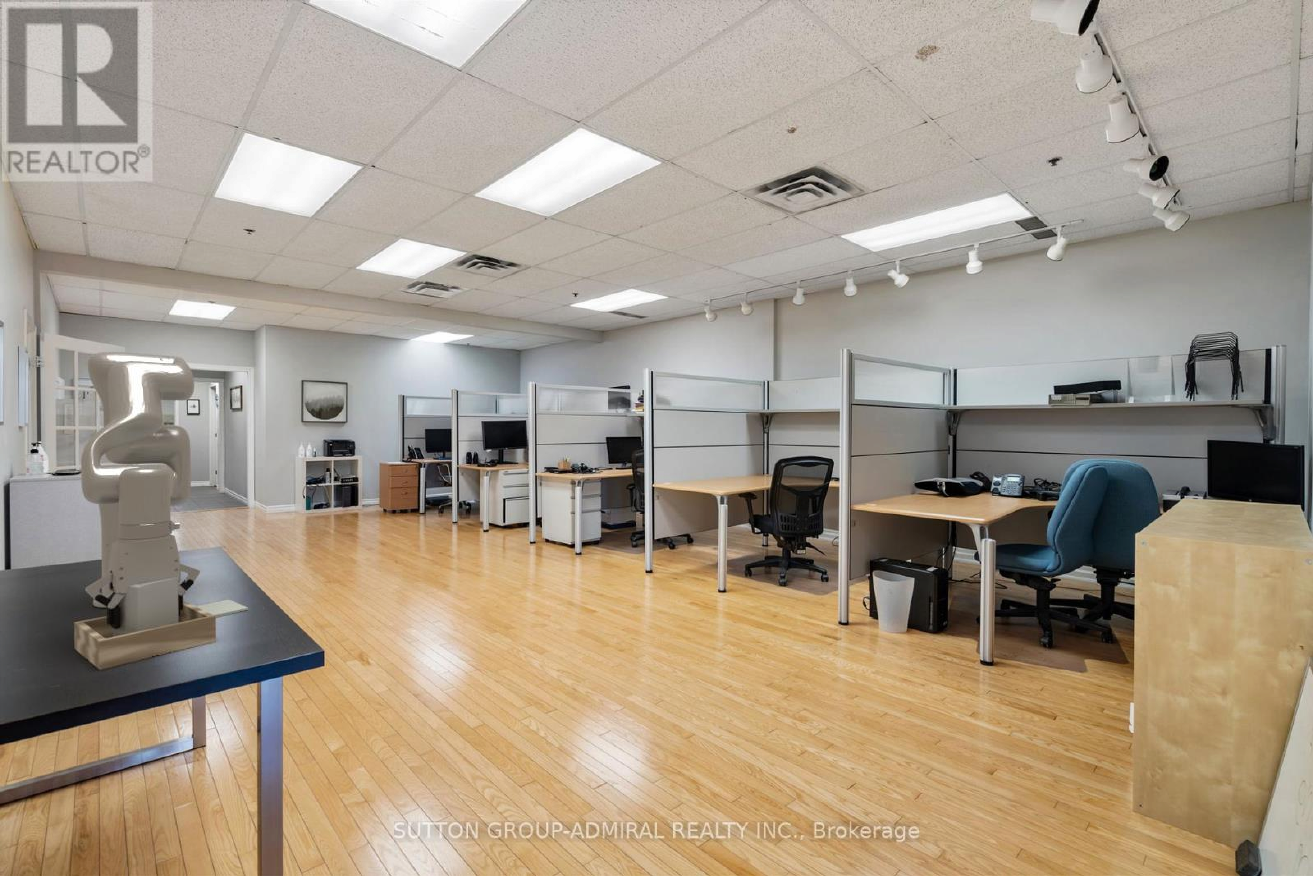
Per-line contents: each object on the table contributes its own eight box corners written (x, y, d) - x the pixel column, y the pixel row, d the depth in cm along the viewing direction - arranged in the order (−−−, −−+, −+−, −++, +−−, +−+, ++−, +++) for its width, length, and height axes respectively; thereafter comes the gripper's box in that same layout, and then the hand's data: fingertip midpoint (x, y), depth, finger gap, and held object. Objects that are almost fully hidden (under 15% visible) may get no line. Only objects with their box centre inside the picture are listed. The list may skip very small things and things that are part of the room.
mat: (171, 613, 133) (171, 611, 133) (228, 602, 142) (228, 599, 142) (190, 623, 127) (189, 620, 127) (248, 610, 136) (248, 607, 136)
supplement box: (180, 640, 117) (179, 577, 116) (136, 654, 110) (136, 586, 109) (155, 636, 119) (154, 573, 119) (111, 649, 112) (110, 583, 112)
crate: (74, 648, 112) (74, 622, 112) (184, 624, 126) (184, 601, 126) (99, 670, 103) (99, 641, 102) (215, 641, 116) (215, 616, 116)
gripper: (192, 523, 123) (193, 606, 124) (78, 536, 109) (79, 629, 109) (206, 527, 119) (207, 613, 119) (89, 540, 105) (90, 638, 105)
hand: (146, 620), depth 114 cm, fingers closed on supplement box, 8 cm apart
